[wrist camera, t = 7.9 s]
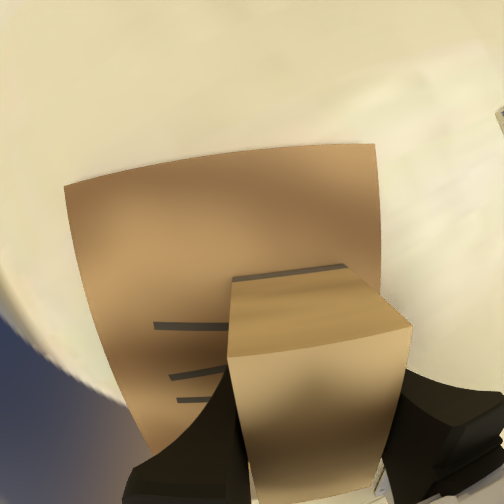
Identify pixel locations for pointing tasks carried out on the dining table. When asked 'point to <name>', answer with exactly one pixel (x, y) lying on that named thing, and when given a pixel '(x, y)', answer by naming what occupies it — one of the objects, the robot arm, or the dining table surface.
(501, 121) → the hard drive
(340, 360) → the block
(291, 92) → the dining table surface
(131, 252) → the board
